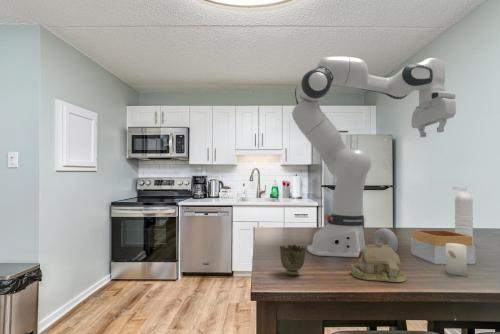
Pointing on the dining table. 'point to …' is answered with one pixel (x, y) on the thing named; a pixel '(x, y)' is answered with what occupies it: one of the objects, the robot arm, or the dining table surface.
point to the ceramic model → (378, 264)
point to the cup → (292, 258)
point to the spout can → (456, 259)
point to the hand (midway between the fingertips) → (431, 134)
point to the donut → (388, 235)
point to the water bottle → (463, 212)
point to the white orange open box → (439, 245)
